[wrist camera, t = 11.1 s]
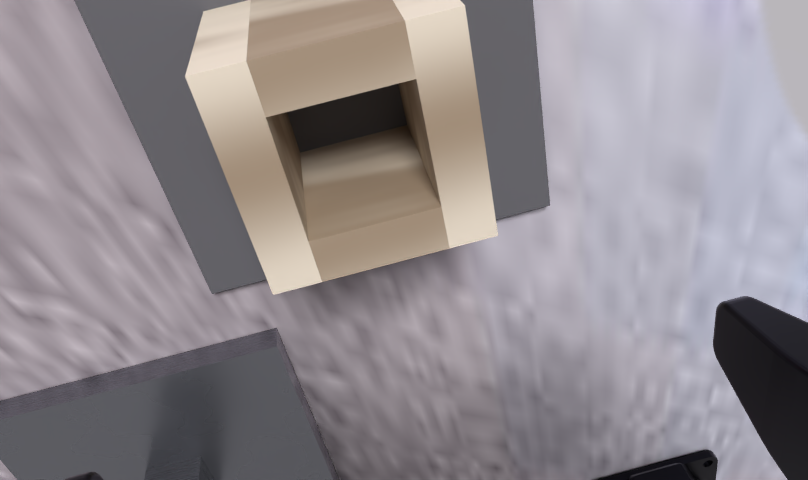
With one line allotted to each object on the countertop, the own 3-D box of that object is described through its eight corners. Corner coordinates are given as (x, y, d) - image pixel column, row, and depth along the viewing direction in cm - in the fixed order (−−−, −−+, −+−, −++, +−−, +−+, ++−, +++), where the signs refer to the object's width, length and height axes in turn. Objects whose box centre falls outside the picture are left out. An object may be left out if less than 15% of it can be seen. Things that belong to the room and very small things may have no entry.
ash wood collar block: (454, 151, 22) (498, 235, 18) (271, 198, 22) (273, 295, 17) (420, -44, 18) (464, 5, 14) (203, 11, 18) (185, 76, 14)
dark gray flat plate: (546, 199, 24) (550, 205, 24) (212, 286, 24) (211, 293, 23) (511, -200, 17) (515, -200, 17) (40, -85, 17) (35, -83, 16)
